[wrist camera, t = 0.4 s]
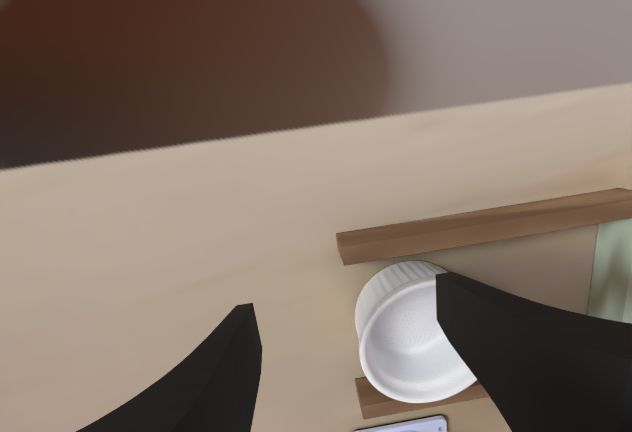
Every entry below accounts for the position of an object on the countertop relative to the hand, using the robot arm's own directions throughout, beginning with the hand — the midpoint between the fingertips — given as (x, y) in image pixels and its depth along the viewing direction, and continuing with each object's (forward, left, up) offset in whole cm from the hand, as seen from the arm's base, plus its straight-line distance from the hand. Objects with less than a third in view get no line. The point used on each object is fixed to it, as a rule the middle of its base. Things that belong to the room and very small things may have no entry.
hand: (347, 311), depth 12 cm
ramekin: (-7, -5, -9) cm, 13 cm away
